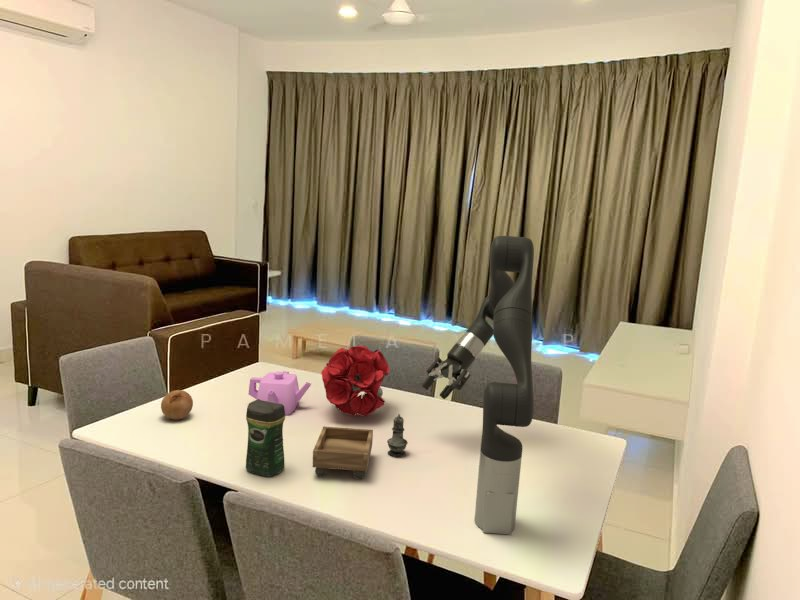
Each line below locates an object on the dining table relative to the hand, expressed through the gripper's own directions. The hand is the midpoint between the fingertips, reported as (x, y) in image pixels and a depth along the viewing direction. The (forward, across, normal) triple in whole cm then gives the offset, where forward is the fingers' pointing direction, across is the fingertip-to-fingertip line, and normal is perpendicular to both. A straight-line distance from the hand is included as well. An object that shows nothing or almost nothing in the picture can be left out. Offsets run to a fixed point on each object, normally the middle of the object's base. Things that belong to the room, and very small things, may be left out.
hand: (432, 392), depth 171 cm
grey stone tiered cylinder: (+20, 0, +4) cm, 20 cm away
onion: (+54, -53, -30) cm, 82 cm away
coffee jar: (+46, -8, -22) cm, 51 cm away
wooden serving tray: (+32, 0, -9) cm, 33 cm away
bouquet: (+15, -33, +9) cm, 38 cm away
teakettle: (+32, -48, -8) cm, 58 cm away
